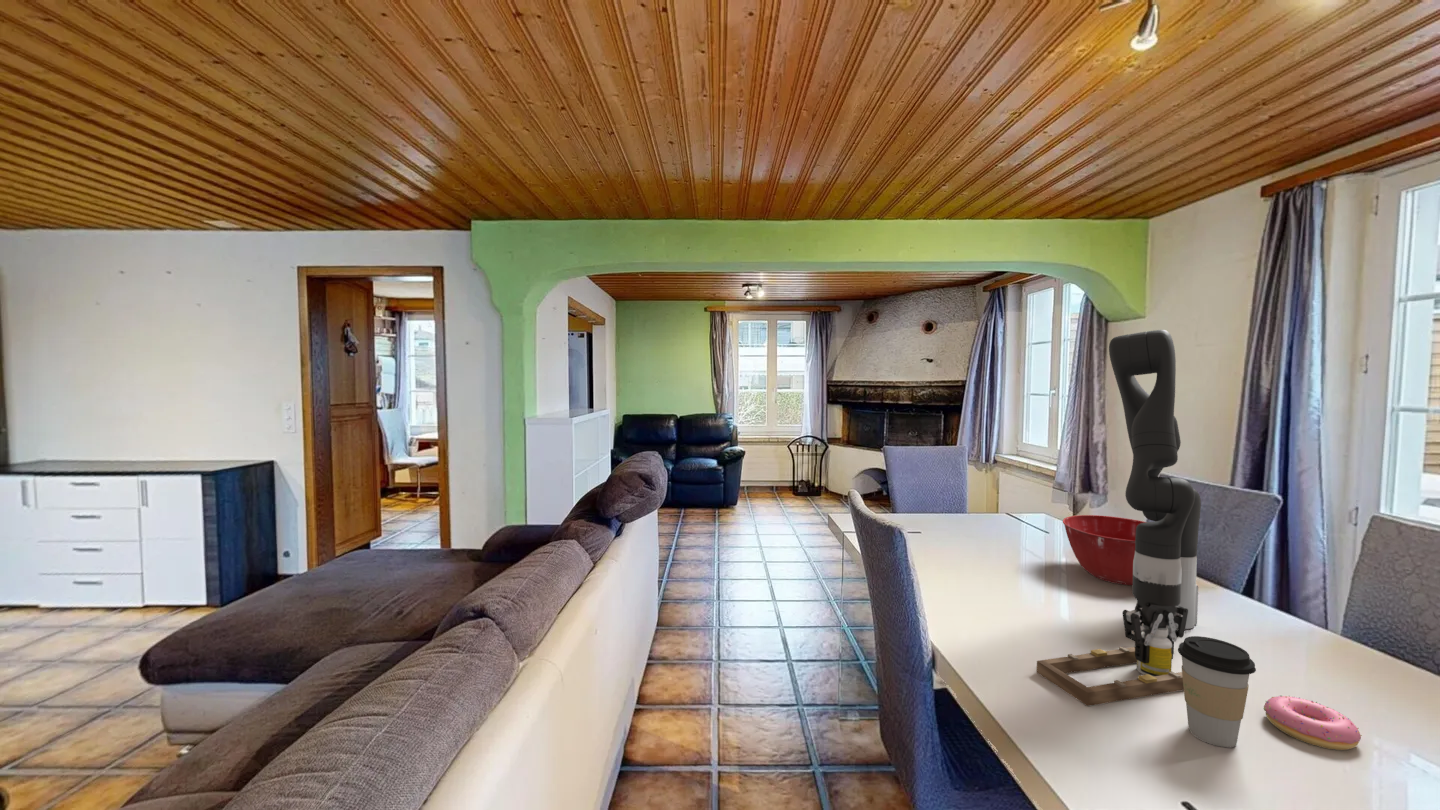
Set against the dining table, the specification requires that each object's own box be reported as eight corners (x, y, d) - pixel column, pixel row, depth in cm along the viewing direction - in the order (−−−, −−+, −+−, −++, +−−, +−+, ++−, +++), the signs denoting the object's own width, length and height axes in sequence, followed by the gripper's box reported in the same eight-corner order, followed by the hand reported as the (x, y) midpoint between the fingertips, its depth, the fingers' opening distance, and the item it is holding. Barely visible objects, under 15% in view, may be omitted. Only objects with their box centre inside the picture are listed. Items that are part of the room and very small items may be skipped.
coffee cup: (1160, 719, 93) (1163, 635, 93) (1210, 716, 94) (1213, 632, 93) (1215, 757, 84) (1218, 663, 83) (1270, 754, 85) (1273, 660, 84)
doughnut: (1379, 750, 86) (1380, 724, 86) (1328, 760, 83) (1329, 734, 83) (1293, 709, 96) (1294, 686, 96) (1246, 717, 94) (1247, 694, 94)
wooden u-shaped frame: (1144, 656, 115) (1145, 642, 114) (1204, 686, 103) (1205, 670, 103) (1036, 672, 108) (1036, 657, 108) (1087, 706, 97) (1088, 689, 97)
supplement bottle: (1177, 682, 105) (1179, 633, 104) (1146, 679, 106) (1147, 630, 105) (1160, 668, 110) (1162, 621, 110) (1130, 665, 111) (1132, 619, 111)
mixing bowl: (1207, 596, 147) (1209, 540, 147) (1102, 595, 148) (1104, 540, 147) (1130, 561, 176) (1131, 515, 175) (1042, 561, 176) (1043, 514, 175)
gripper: (1165, 567, 112) (1162, 646, 113) (1109, 572, 109) (1107, 654, 110) (1205, 580, 105) (1202, 664, 106) (1146, 586, 102) (1144, 673, 102)
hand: (1153, 659), depth 108 cm, fingers closed on supplement bottle, 5 cm apart
